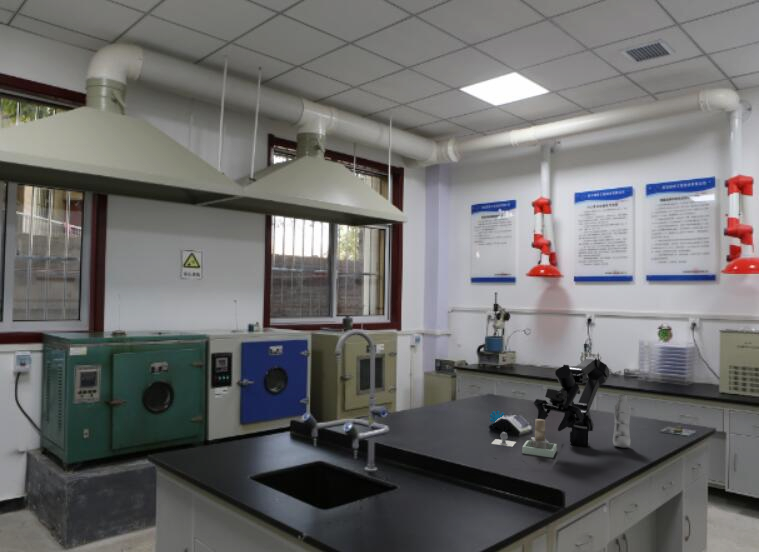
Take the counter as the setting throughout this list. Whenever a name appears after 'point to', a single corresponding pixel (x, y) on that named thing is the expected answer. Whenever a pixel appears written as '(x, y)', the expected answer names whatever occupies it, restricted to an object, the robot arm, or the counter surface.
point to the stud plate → (503, 440)
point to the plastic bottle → (622, 422)
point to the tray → (539, 450)
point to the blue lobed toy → (495, 416)
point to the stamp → (539, 435)
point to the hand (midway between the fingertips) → (547, 427)
